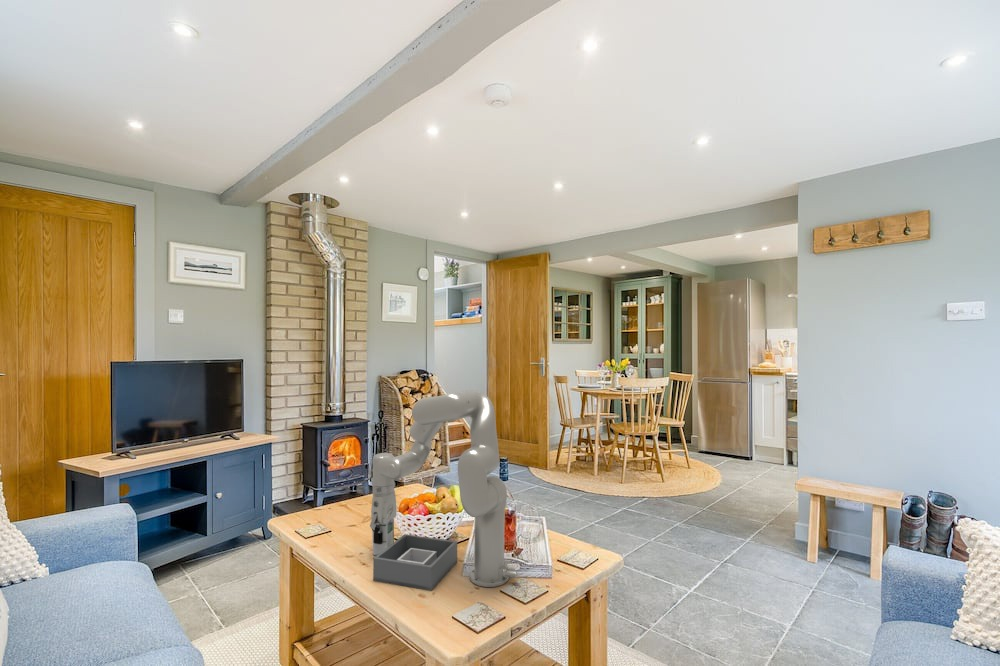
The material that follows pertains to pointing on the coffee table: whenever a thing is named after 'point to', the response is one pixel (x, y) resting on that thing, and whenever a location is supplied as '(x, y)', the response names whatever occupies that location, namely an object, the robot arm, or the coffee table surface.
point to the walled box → (415, 562)
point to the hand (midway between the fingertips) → (383, 539)
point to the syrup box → (384, 537)
